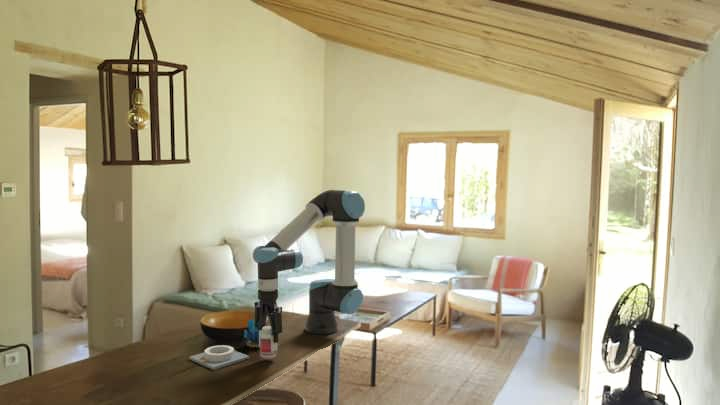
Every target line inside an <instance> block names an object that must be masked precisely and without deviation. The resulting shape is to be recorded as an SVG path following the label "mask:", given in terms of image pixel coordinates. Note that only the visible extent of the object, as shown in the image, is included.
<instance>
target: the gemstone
mask: <svg viewBox="0 0 720 405" xmlns="http://www.w3.org/2000/svg"><path fill="white" fill-rule="evenodd" d="M254 322H255V317H253V318H251V319H250V320H248V321H247V322H246V323H247V327H248V330H249V331H248V330H246V329H244V335H243V338H244V339H246V340H247V342H246V346H247V347H248V346H249V347H248V348H252V347H253V348H255V347H256V348H260V347H259V337H258V329H257V327H255V326H254ZM257 324H258V323H257Z"/></svg>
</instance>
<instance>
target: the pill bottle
mask: <svg viewBox="0 0 720 405" xmlns="http://www.w3.org/2000/svg"><path fill="white" fill-rule="evenodd" d="M262 332H263V333H261V335H260V347H259V355H260V357H261V358H263V359H272V358H275V357H276V356H277V350H276V351H273V352H271V334H272V330H271V325H265V327H262Z"/></svg>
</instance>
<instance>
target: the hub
mask: <svg viewBox="0 0 720 405" xmlns="http://www.w3.org/2000/svg"><path fill="white" fill-rule="evenodd" d="M246 359H247V360H249V359H250V356H249V355H247V354H245V353H242V352H239V351H237V350H235V349H234V347H233V346H230V345H224V344H222V345H221V344H220V345H213V346H209V347H207V348H206V349H204V352H200V353H198V354H194V355H191V356H189V357H188V360H189V361H192V362H195V363H197V364H199V365H201V366H203V367H205V368H208V369H209V370H212V371H215V370H219V369H222V368H224V367H228V366H231V365H234V364H237V363H240V361H241V362H243V360H244V361H247V360H246Z"/></svg>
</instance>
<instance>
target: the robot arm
mask: <svg viewBox="0 0 720 405" xmlns="http://www.w3.org/2000/svg"><path fill="white" fill-rule="evenodd" d="M365 209H366V205H365V200H364V197H363V196H362V195H361V193H359V192H358V191H353V190H341V189H340V190H337V189H329V190H325V191H324V192H321V193H320V194H317V195H316V196H315V197H314V198H312V199H311V200H310V201H309V202H308V203H307V204H306V205H305V209H303V210H302V211H301V212H300V213H299V214H298V215H297V216H296V217H295V218H294V219H293V220H292V221H290V223H288V224H287V225H286V226H285V227H284V228H282V230H280V231H279V232H278V234H276V235H275V236H274V237H273V238H272V239H271V240H270V241H268V243H266V244H265V245H258V246H256V247H255V248H254V250H253V252H252V258H253V261H254V262H255V263H257V288H258V289H257V299H258V301H255V302H254V319H255V322H254V326H255V327H257V329H258V337H259V347H258V348H260V335H261V333H263V332H262V327H265V326H266V322H267V318H268V319H269V324H270V325H269V326H271V330H272V334H271V352H273V351H276V352H277V350H278V348H279V347H278V343H279V334H282V333H283V319H282V312H283V307H282V306H280V307H279V306H278V303H277V300H278V299H279V289H278V288H279V272H282V271H283V272H284V271H290V270H294V269H298V268H300V267H301V266H302V265H303V262H304V256H303V252H301V250H299V249H297V248H296V249H290V250H289V248H290V247H292V245H294V244H295V243H296V242H297V241H298V240H299V239H300V238H301V237H302V236H303V235H304V234H305V233H307V232H308V231H309V229H311V227H313V226H314V224H316V223H317V222H321V221H322V220H323V219H324V218H326V217H330V216H331V217H332V222H333V223H334V224H335V256H334V257H335V258H334V259H335V260H334V261H335V262H334V266H335V267H334V268H335V270H334V278H323V279H322V278H321V279H315V280H313V281H311V282H310V284H309V290H308V292H309V294H308V298H309V300H308V304H309V305H308V311H309V312H308V315H307V319H306V323H304V324H305V325H304V331H306V332H307V333H309V334H313V335H330V334H333V333H336V332H337V331H338V330H339V324H338V322H337V318H336V313H335V312H337V313H341V314H343V315H354V314H355V313H357V312H358V311H359V309H360V308H361V306H362V304H363V301H364V295H363V291H362V290H361V289H359V288H358V286H359V285H358V281H357V280H356V279H355V272H356V271H355V269H356V267H355V264H356V263H355V262H356V261H355V260H356V225H357V224H358V223H359V222H360V218H362V216H363V215H364V213H365ZM257 323H258V324H257Z"/></svg>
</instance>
